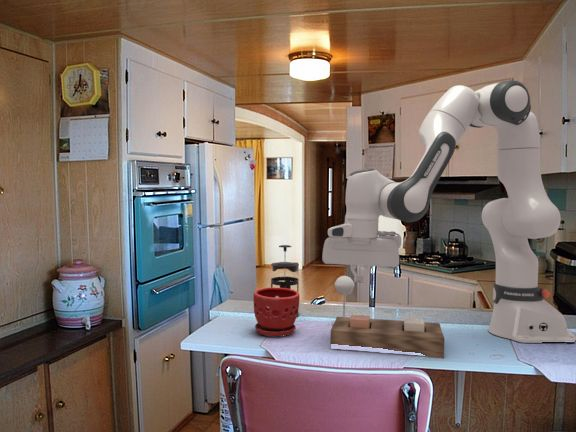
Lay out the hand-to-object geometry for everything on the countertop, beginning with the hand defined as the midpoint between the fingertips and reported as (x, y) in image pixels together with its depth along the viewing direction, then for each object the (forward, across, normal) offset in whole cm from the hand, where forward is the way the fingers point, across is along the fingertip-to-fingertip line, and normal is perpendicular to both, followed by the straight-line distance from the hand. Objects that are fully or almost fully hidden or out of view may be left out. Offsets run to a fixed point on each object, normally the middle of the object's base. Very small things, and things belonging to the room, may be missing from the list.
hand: (359, 282), depth 132 cm
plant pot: (+17, +24, -4) cm, 29 cm away
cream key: (+13, -14, 0) cm, 19 cm away
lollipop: (+17, +6, -17) cm, 25 cm away
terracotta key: (+13, 0, 0) cm, 13 cm away
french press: (+17, +26, -24) cm, 39 cm away
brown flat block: (+16, -7, 0) cm, 18 cm away
